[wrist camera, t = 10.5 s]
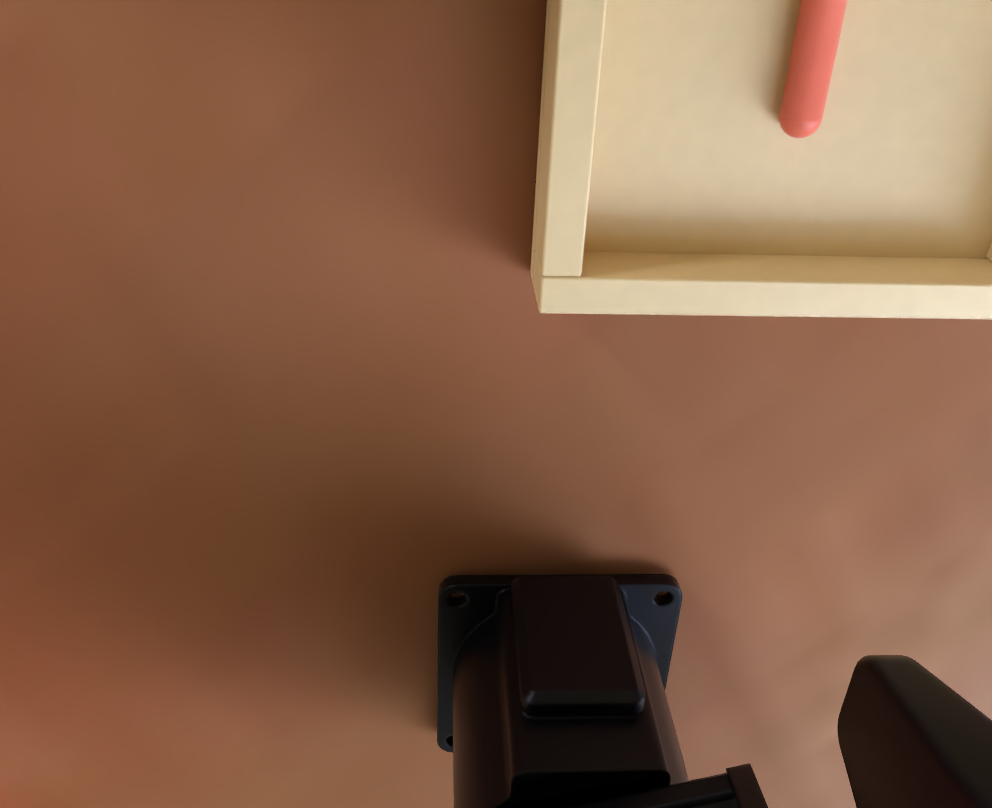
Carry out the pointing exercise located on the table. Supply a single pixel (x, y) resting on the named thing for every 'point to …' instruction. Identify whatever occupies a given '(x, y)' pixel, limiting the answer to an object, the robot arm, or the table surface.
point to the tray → (763, 163)
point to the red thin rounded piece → (811, 66)
